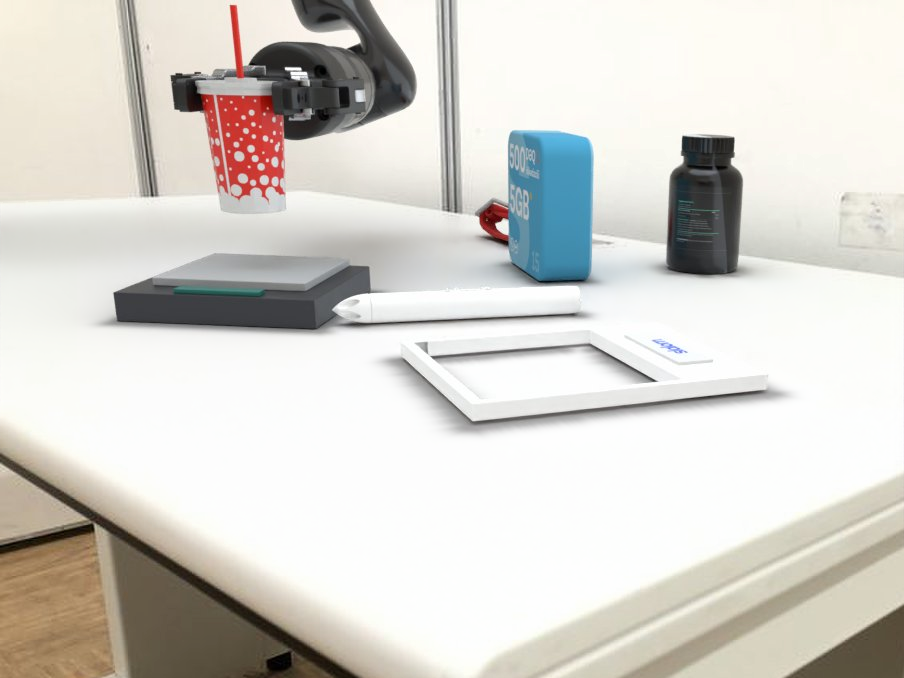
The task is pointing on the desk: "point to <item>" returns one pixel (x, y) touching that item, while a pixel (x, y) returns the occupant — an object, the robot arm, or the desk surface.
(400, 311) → the marker
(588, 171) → the data package
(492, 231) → the tracker holder
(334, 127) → the robot arm
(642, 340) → the photo frame
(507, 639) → the desk surface
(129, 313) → the scale
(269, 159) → the beverage cup
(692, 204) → the supplement bottle
